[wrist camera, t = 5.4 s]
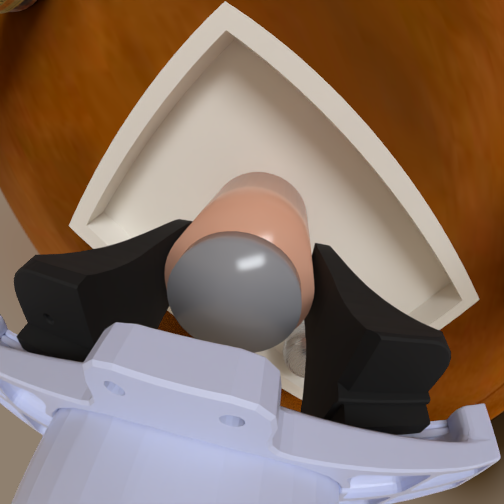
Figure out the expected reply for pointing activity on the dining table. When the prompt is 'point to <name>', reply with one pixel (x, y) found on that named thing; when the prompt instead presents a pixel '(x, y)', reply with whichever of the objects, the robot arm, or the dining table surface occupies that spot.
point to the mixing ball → (296, 351)
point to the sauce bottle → (15, 5)
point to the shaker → (244, 265)
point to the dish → (273, 168)
